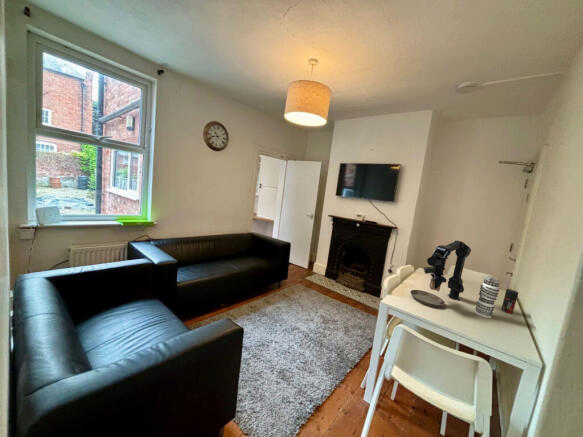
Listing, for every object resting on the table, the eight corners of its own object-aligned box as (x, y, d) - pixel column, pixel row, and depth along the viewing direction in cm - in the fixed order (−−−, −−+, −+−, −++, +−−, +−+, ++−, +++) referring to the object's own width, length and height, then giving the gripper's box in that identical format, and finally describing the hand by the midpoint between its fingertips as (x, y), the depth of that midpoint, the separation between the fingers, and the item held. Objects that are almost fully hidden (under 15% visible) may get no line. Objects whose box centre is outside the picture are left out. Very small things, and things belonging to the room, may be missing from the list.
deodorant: (509, 310, 158) (515, 290, 156) (514, 314, 153) (520, 293, 151) (499, 308, 160) (504, 288, 158) (503, 312, 155) (509, 291, 152)
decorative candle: (496, 318, 144) (506, 281, 140) (484, 318, 142) (494, 280, 139) (482, 310, 153) (491, 275, 149) (470, 310, 151) (479, 274, 148)
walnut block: (429, 286, 157) (431, 278, 156) (437, 288, 155) (439, 280, 154) (430, 289, 152) (432, 280, 151) (439, 291, 151) (441, 282, 150)
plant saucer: (433, 296, 167) (434, 292, 166) (450, 311, 146) (451, 306, 146) (404, 291, 168) (405, 287, 168) (417, 305, 148) (418, 301, 148)
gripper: (423, 258, 163) (418, 279, 165) (429, 266, 145) (423, 289, 148) (441, 262, 159) (436, 283, 161) (449, 270, 142) (443, 293, 144)
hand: (434, 287), depth 154 cm, fingers closed on walnut block, 5 cm apart
